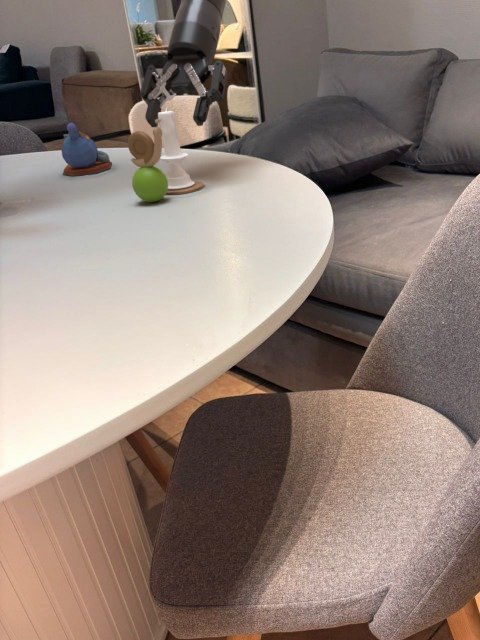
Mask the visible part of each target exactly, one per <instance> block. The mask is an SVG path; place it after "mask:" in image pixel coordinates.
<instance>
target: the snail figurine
mask: <svg viewBox="0 0 480 640" xmlns="http://www.w3.org/2000/svg"><path fill="white" fill-rule="evenodd" d="M160 122H161V120H160V119H156V120H155V123H157V127H153V129H152V135H153V139H152V136H150V135H149V134H147V133H146V132H144V131H141V130H137V131H134V132H132V133H131V134H130V135H129V136H128V139H127V147H128V150H129V152H130V154H131V156H132V157H133V158H132V157H131V158H130V161H131V162H132V163H133V165H134V166H136V167H138V169H137V170H135V172H134V174H133V175H132V179H131V186H132V189H133V191H134V193H135V195H136V196H137V197H138V198H139V199H140V200H142V201H144V202H146V203H155V202H158V201H160V200H162V199H163V198H164V197H165V196H166V195H165V194H166V192H167V189H168V181H167V178H166V177H167V176H166V174H165V173H164V171H163V170H162V169H161V168H159V167H157V166H155V165H156V164H158V163H159V162H160V160H161V159H160V157H161V156H162V153H163V152H162V151H163V138H162V130H161V127H160V126H159V123H160Z"/></svg>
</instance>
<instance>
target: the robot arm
mask: <svg viewBox="0 0 480 640" xmlns="http://www.w3.org/2000/svg"><path fill="white" fill-rule="evenodd" d="M226 3H227V0H180V5H179V7H178V10H177V12H176V15H175V18H174V23H173V25H172V31H171V35H170V37H169V41H168V46H167V49H166V50H167V51H166V63H165V64H164V66H163V67H162V68H156V67H155V65H153V64H149V65H148V66H147V69H146V72H145V75H144V79H143V81H142V85H141V88H140V91H139V96H140V97H141V99H142V100H143V101H144V103H145V104H146V105H147V107H146V112H145V115H144V116H145V120H146V122H147V123H148V124H149V126H151V128H155V127H158V125H157V123H155V120H156V119H158V113H159V112H162V107H163V106H164V105H165V104H166V103H167V102H168V101H169V102H170V101H172V100H173V99H174V98H175V97H176V96H180V95H185V94H186V95H194V94H195V93H196V92H197V94H198V95H199V97H197V98H196V102H195V106H194V110H193V115H192V120H193V121H194V123H195V124H196V126H198V127H202V126H203V125H204V123H206V121H207V120H208V115H209V111H210V107H211V106H212V105H213V103H215V102H217V103H222V102H223V100H224V96H225V91H226V85H227V79H228V73H229V72H228V70H227V68H226V67H225V65H224V63H223V61H222V60H221V59H217V60H215V57H216V53H217V49H218V44H219V40H220V35H221V27H222V19H223V16H224V11H225V7H226ZM214 61H215V62H214ZM211 76H212V77H211ZM210 78H211V82H210V87H209V89H208V90H207V89H206V87H205V85H204V84H205V83H206V82H207V81H208V80H209V79H210ZM167 85H168V87H169V90H167V88H166V86H167ZM160 95H161V96H160ZM158 97H159V98H158Z"/></svg>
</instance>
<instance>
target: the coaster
mask: <svg viewBox="0 0 480 640" xmlns="http://www.w3.org/2000/svg"><path fill="white" fill-rule="evenodd" d="M193 181H194V182H195V184H194V185H193V186H190V187H187V188H182V189H167V192H166V194H165V196H175V195H176V196H177V195H178V196H179V195H185V194H190V193H194V192H197V191H200V190H202V189H204V188H205V182H203V181H201V180H193Z"/></svg>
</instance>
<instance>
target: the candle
mask: <svg viewBox="0 0 480 640" xmlns="http://www.w3.org/2000/svg"><path fill="white" fill-rule="evenodd" d="M158 119H160V120H161V122H160V123H159V122H158V126H159V128H160V127H161V130H162V137H161V138H162V145H163V148H164V149H163V150H164V154H163V155H161V157H160V160H161V161H163V162H165V163H166V164H169V167H168V168H169V169H168V173H167V176H166V178H167V181H168V189H182V188H187V187H190V186H193V185H194V184H195V182H194V181H195V180H191V176H190V175H189V173H187V172H186V171H185V169H184V168H183V166H182V163H181V162H182V161H184V160H185V159H186V158H187V157H188V156H189V153H186V152H182V149H181V144H180V138H179V133H178V126H177V121H176V116H175V112H174V111H173V110H168V108H167V107H166V108H165V111H161V112H159V113H158Z"/></svg>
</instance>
